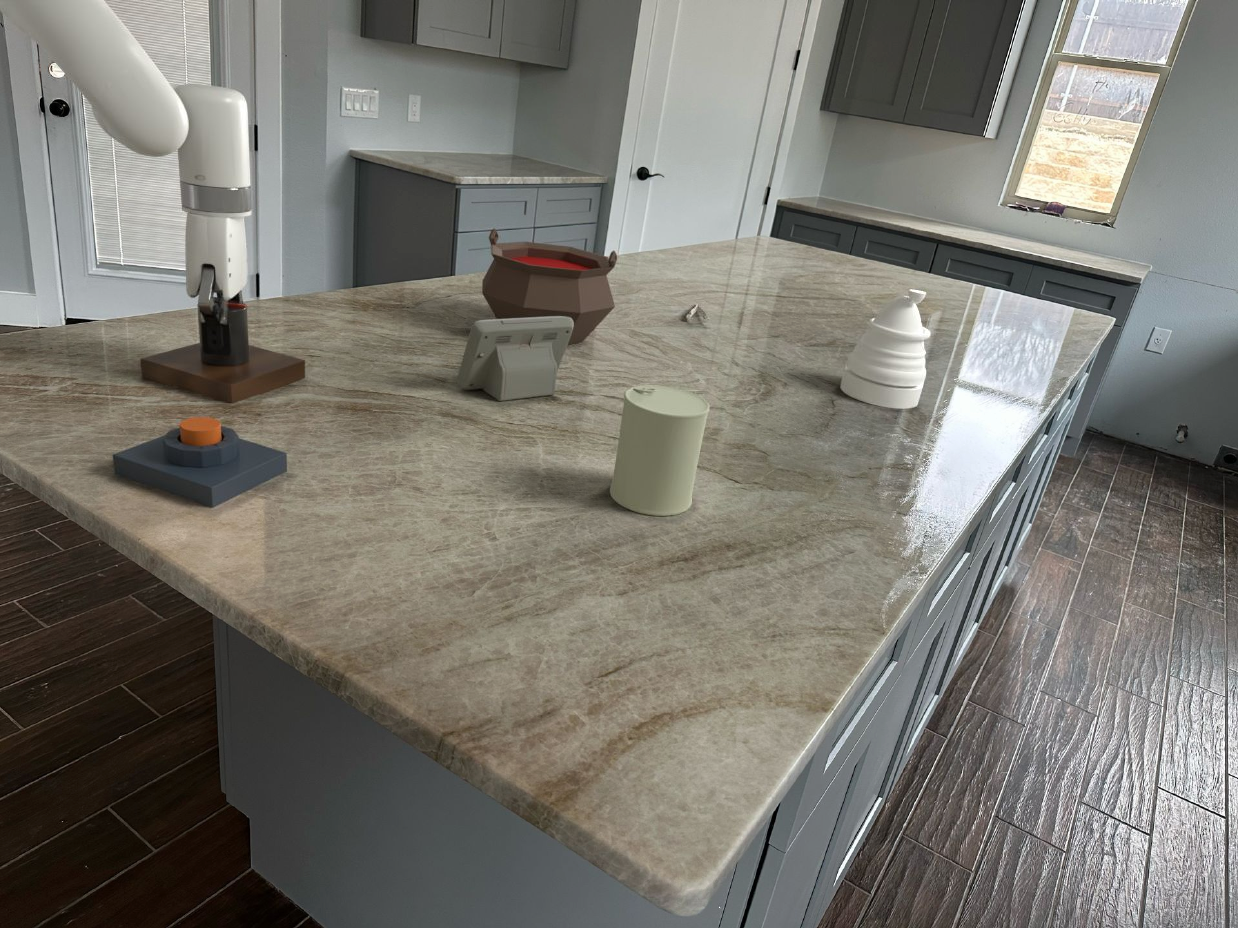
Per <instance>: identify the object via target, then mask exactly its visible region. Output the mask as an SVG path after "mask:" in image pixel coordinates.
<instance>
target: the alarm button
mask: <svg viewBox="0 0 1238 928" xmlns="http://www.w3.org/2000/svg"><path fill="white" fill-rule="evenodd" d="M221 426H222V424H221V421H220V420H219V419H217V418H214V417H209V416H196V417H195V416H194V417H189V418H186V419H183V420H182V421H181V422H180V423H179V427H180V436H181V442H182V443H184V444H187V445H192V446H204V445H212V444H215V443H218V442H220V441H221V439H222V438H221Z"/></svg>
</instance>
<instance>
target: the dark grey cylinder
mask: <svg viewBox="0 0 1238 928" xmlns="http://www.w3.org/2000/svg"><path fill="white" fill-rule="evenodd" d="M196 306H197V307H196V308H197V321H198V322H197V323H198V336H199V343H200V354H201V360H202V361H203V362H205V363H207V364H211V365H217V366H234V365H240V364H244V363H246V362H248V361H249V345H250V344H249V323H248V322H249V321H248V320H249V319H248V305H247V304H246V303H244V302H243V303H242V302H239V301H234V300H228V314H227V323H230V327H231V347H232V353H231V354H230V355H229V356H226V355H214V354H205V353H204V352H203V346H202V331H201V320H200V315H201V312H200V307H199V305H198V303H197V305H196ZM214 306H218V308H219V310H221V303H214Z"/></svg>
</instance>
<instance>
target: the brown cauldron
mask: <svg viewBox="0 0 1238 928" xmlns="http://www.w3.org/2000/svg"><path fill="white" fill-rule="evenodd" d="M498 240H499V233H498V231H497V230H496V228H495V227H494V228H493V229H491V231H490V232H489V235H488V241H489V243H490V255H491V256H492V258H493V260H492V262H491V263H490V266H489V268H488V269H487V271H486V273H485V275H484V277H483V278H482V284H481V285H482V286H481V287H482V288H481V294H482V296H483V297H484V300H485V301H486V303H487V304H488V307H489V308H490V309H491V312H492V314H493V315H494V317H495V319H510V318H529V317H549V316H565V317H570V318H572V320H573V322H574V326H573V330H572V333H571V336H570V339H569V342H568V345H567V346H570V345H575V344H579V343H583V342H584V341H585V340H586V339H587V338H588V337H589V336H590V334H591V333H592V332H593V331H594V330H595V329H596V328H597V327H598V326H599V325H600V324H601V323H602V322H603V321H604V319H605V318H607V316H608V315H609V314H610V313H611V312H612V311H613V310H614V309H615V308H616V305H615V301H614V298H613V295H612V291H611V287H610V283H609V280H608V276H607V275H608V274H609V273H610V272H611V271H612V270H613V269H614V268H616V264H617V261H618V256H617V252H616V251H615V250H612V251H611V252H610V254H609V257H608V256H606V255H603V254H600V253H599V254H598V253H595V252H591V251H588V250H584V249H580V248H578V247H573V246H569V245H568V246H567V245H560V244H551V243H541V242H540V243H539V242H535V241H534V242H533V241H524V240H523V241H510V242H498ZM497 242H498V243H497Z"/></svg>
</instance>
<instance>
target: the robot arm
mask: <svg viewBox="0 0 1238 928" xmlns="http://www.w3.org/2000/svg"><path fill="white" fill-rule="evenodd" d="M0 13H1V14H3V16H5V18H6V19H8V20H9V21H10V22H11V23H12V24H13V25H14V26H16V27H17V28H18V29H19V30H20V31H22V32H23V33H25V35H27V36H28V37H29V38H30V40H32V41H33V42H35V44H37V46H38V47H40V48H41V49H42V51H44V52H45V54H46V55H47V56H48V57H49V58H50V59H51V60H52V61H53V62H54V63H55V65H56V66H57V67H58V68H59V69H60V70H61V71H62V72H63V73H64V75H65V76H66V77H67V78H68V79H69V81H70V82H71V83H72V84H73V85H74V86H75V87H76V89H77V90H78V91H79V92H80V93H81V94H82V95H83V97H84V98H85V99H86V101H87V102H88V103H89V104H90V105H91V110H92V114H93V117H94V119H95V120H96V122H97V124H98V126H100V129H102V131H103V132H104V133H106V134H107V135H108V136H109V137H110V138H112V139H113V140H114V141H116V142H118V143H119V144H121V145H122V146H124V147H125V148H127V149H128V150H130V151H132V152H134V153H136V154H139V155H141V156H145V157H152V158H161V157H165V156H169V155H171V154H173V153H174V152H177V160H178V172H179V173H178V175H179V189H180V201H181V210H182V211H183V212H184V213H186V221H185V237H184V238H185V239H184V240H185V242H184V243H185V244H184V245H185V248H184V249H185V250H184V253H185V289H186V291H185V292H186V294H187V296H188V297H189V298H191V299H194V298H197V304H198V305H199V307H200V312H201V315H200V320H201V331H202V346H203V352H204V353H205V354H214V355H226V356H229V355H230V354H231V353H232V347H231V327H230V323H227V314H228V300H234V301H239V302H242V303H244V299H243V293H242V292H243V289H244V288H245V287H246V285H247V283H248V270H249V269H248V268H249V267H248V266H249V265H248V248H247V247H248V246H247V234H246V224H245V218H246V217H250V216H252V215H253V213H252V212H253V211H252V190H251V188H252V186H251V163H250V162H251V161H250V137H249V136H250V134H249V109H248V102H247V99H246V97H245V96H244V94H242V93H241V92H240V91H238V90H236V89H233V88H230V87H225V86H224V87H223V86H217V85H209V84H202V83H201V84H200V83H184V84H178V83H172V82H169V81H168V80H167V79H166V77H165V76H164V74H163V73H162V72H161V71H160V69H159V68H158V66H157V65H156V63H154V61H153V60H152V58H151V57H150V56H149V55H148V53H147V52H146V50H145V49H144V48H143V47H142V45H141V44H140V43H139V42H138V40H137V39H136V38H135V36H134V35H133V34H132V33H131V31H130V30H129V29H128V28H127V26H126V25H125V24H124V23H123V22H122V21H121V19H120V18H119V17H118V15H117V14H116V13H115V11H113V9H112V8H111V7H110V6H109V4H107V2H106V1H105V0H0ZM214 294H216V296H214ZM214 303H221V310H219V308H218V306H214Z"/></svg>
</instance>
